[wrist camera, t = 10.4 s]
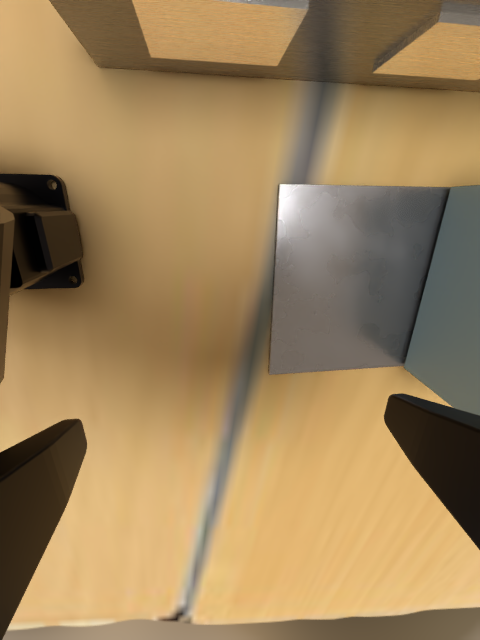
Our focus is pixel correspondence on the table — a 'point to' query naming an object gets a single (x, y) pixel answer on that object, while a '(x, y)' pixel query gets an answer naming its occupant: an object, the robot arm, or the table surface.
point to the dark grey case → (317, 200)
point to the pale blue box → (452, 308)
